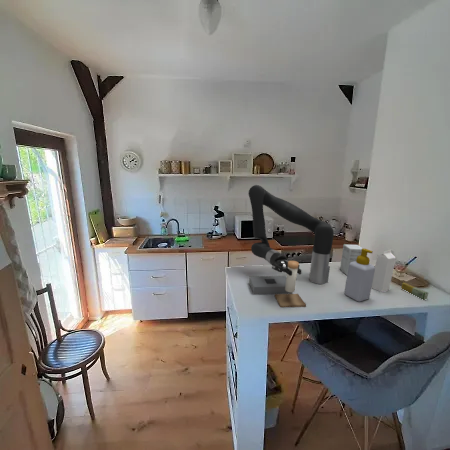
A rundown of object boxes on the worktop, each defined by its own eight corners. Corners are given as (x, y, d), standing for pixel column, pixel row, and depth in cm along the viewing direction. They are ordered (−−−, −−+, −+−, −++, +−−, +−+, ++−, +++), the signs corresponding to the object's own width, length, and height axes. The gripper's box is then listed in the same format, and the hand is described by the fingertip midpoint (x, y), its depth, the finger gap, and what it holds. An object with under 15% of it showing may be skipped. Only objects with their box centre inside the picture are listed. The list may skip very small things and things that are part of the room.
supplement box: (361, 276, 149) (366, 249, 145) (346, 275, 149) (350, 249, 145) (353, 269, 159) (358, 244, 155) (339, 269, 159) (343, 243, 155)
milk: (388, 290, 133) (397, 251, 127) (381, 292, 130) (389, 253, 125) (378, 285, 138) (386, 248, 133) (370, 287, 136) (378, 249, 130)
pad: (297, 295, 124) (297, 293, 124) (305, 306, 115) (306, 304, 114) (274, 296, 123) (274, 294, 123) (280, 307, 113) (280, 305, 113)
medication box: (427, 300, 125) (429, 292, 124) (423, 300, 124) (425, 293, 123) (403, 288, 136) (405, 282, 135) (400, 289, 135) (401, 282, 134)
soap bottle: (359, 302, 120) (367, 253, 114) (342, 294, 127) (350, 247, 121) (370, 298, 124) (379, 251, 118) (354, 290, 131) (362, 245, 125)
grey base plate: (284, 282, 138) (285, 275, 137) (292, 293, 126) (293, 286, 125) (249, 283, 136) (249, 276, 135) (253, 294, 124) (254, 287, 123)
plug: (292, 287, 120) (296, 260, 117) (296, 292, 116) (300, 264, 112) (283, 287, 120) (286, 260, 116) (286, 292, 115) (290, 264, 112)
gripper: (264, 253, 125) (283, 267, 109) (288, 251, 130) (310, 263, 114) (263, 267, 126) (281, 282, 111) (286, 264, 131) (307, 278, 116)
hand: (295, 272), depth 113 cm, fingers closed on plug, 4 cm apart
